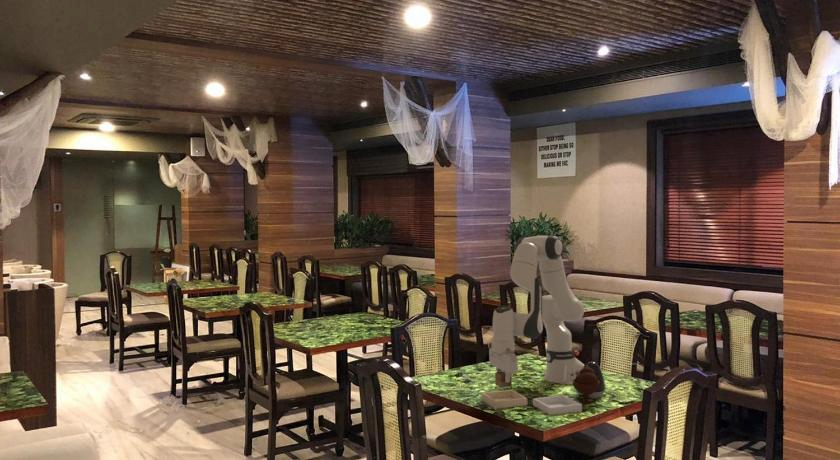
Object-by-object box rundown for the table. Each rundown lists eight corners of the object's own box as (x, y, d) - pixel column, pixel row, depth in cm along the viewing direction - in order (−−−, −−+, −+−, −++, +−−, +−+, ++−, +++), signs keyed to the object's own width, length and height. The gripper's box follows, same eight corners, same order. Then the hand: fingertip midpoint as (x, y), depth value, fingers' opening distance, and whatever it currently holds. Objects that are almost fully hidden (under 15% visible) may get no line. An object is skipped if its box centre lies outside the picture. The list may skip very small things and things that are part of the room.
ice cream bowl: (568, 401, 282) (568, 365, 282) (595, 400, 283) (594, 364, 283) (576, 408, 272) (576, 371, 271) (604, 407, 273) (603, 370, 272)
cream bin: (512, 397, 288) (512, 389, 288) (527, 406, 275) (527, 398, 275) (481, 401, 284) (481, 392, 284) (495, 410, 271) (495, 401, 270)
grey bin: (563, 403, 279) (563, 395, 279) (582, 413, 266) (582, 404, 266) (533, 407, 275) (532, 398, 274) (550, 416, 261) (550, 407, 261)
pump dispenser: (574, 397, 289) (574, 361, 288) (590, 392, 295) (590, 357, 294) (594, 402, 281) (594, 365, 280) (610, 397, 287) (610, 361, 286)
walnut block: (506, 383, 282) (506, 371, 282) (511, 386, 277) (511, 374, 277) (495, 384, 281) (495, 372, 281) (500, 387, 276) (500, 375, 276)
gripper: (521, 351, 270) (521, 385, 270) (500, 341, 289) (500, 374, 290) (507, 352, 268) (507, 387, 268) (486, 342, 287) (486, 375, 288)
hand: (503, 380), depth 279 cm, fingers closed on walnut block, 5 cm apart
